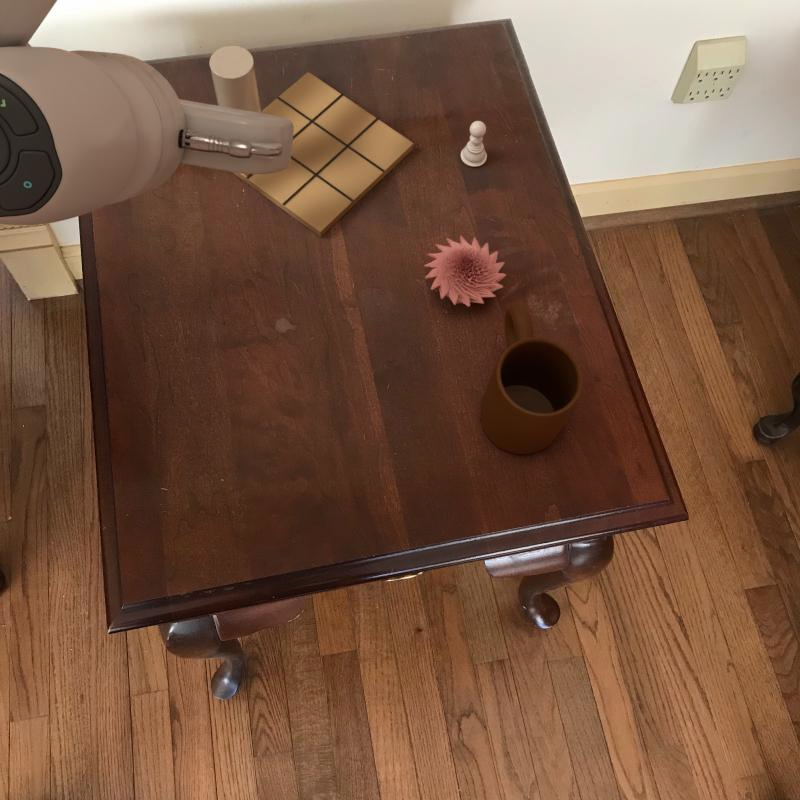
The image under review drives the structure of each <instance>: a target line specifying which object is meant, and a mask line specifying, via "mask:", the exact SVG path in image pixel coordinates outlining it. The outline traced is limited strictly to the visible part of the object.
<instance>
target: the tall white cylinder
mask: <svg viewBox="0 0 800 800" xmlns="http://www.w3.org/2000/svg"><path fill="white" fill-rule="evenodd" d="M208 62H209V69H210V74H211V79H212V83H213V88H214V92H215V97H216V98H215V99H216V102H217V106H222V107H228V108H234V109H240V110H246V111H251V112H257V113H261V111H262V108H261V102H260V94H259V88H258V80H257V74H256V68H255V60H254V57H253V55H252V54H251V52H250V51H249V50H248V49H246V48H244V47H243V46H240V45H239V46H238V45H225V46H222V47H219V48H217V49H216V50H215V51H214V52H213V53H212V54H211V56H210V58H209V61H208Z"/></svg>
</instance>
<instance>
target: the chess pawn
mask: <svg viewBox="0 0 800 800" xmlns="http://www.w3.org/2000/svg"><path fill="white" fill-rule="evenodd" d="M486 133H487V126H486V124H485V122H483V121H481V120H475V121H473V122H472V123H471V124H470V126H469V134H470V135H469V141H468V142H467V143H466V145H465V146H464V147H463V149H462V150H461V151H460V159H461V161H462V162H463V163H464V164H465V165H466V166H469V167H473V168H475V167H476V168H477V167H480V166H482V165H484V164H485V163H486V161H487V159H488V158H487V157H488V153H487V152H486V148H485V145H484V142H483V140H484V136H485V135H486Z"/></svg>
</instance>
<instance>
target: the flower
mask: <svg viewBox="0 0 800 800" xmlns="http://www.w3.org/2000/svg"><path fill="white" fill-rule="evenodd" d="M445 240H446V241H447V242H448V244H449V246H448V245H447V246H446V245H442V244H439V243H434V245H435V247H436V248H437V249H438V250H440V251H441V252H438V253H431V252H430V253H429V252H428V253H427V254H426V256H429V258H432V259H434V260H433V261H431V262H429V263H426V264H423V268H431V270H430V271H429V273H428V274H427V275H425V276H424V280H425V279H426V280H428V279H433V278H434V280H433V282H432V285H431V287H430V290H431V291H433V290H435V289H437V288H438V291H439V295H440V300H444V299H445V297H447V298H448V299H449V300H451V302H452V303H453V305H454V306H456V305H457V304H464V305H465V306H466V307H468V308H470V307H471V303H473V304H474V303H475V304H482V305H484V304H485V302H484V300H483V299H485V298H496V297H497V295H495V294H494V293H493V292H495V291H498V290H499V289H503V288H504V286H503V284H501V283H499V282H500V281H502V280H503V279H504V278H505V277H506V276H507V273H503V272H500V270H501V269H502V268H503V266H504V265H505V263H506V262H505V261H500V262H497V259H498V254H499V251H498V250H496V251H494V252H492V253H490V248H489V242H485V243H484V245H483V246H482V247H481V246H480V244H479V242H478V240H477V238H476V237H473V238H472V242H471V244H470V243H469V242H468V241H467V240H466V239H465V238H464V237H463V236H462V235H459V242H456V241H454V240H452V239H451V238H449V237H446V238H445Z"/></svg>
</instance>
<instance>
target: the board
mask: <svg viewBox="0 0 800 800" xmlns="http://www.w3.org/2000/svg"><path fill="white" fill-rule="evenodd" d="M261 113H263V114H269V115H274V116H280V117H283V118H286V119H289V120H290V121H292V123H293V126H294V133H293V146H292V153H291V160H290V164H289V167H288V168H287V169H286V170H283V171H279V172H275V173H269V174H244V173H234V172H231V173H232V174H233V175H234V176H236V177H238V178H239V179H241V180H242V181H243V182H244V183H246V184H247V185H249V186H250V187H251V188H253V189H254V190H255V191H257V192H258V193H259V194H261V195H262V196H264V197H265V198H266V199H268V200H269V201H270V202H272V203H273V204H274V205H276V206H277V207H278V208H280V210H283V211H284V213H285V212H286V213H287V215H289V216H291V217H292V218H293V219H295V220H296V221H298V222H299V223H300V224H302V225H303V226H304V227H306V228H307V229H308V230H310V231H311V232H312V233H314V234H315V235H317V236H318V237H319V238H322V237H323V236H324V235H325V234H326V233H328V232H329V230H331V228H333V227H334V226H335V225H336V224H337V223H338V222H339V221H340V220H341V219H342V218H343V217H344V216H345V215H346V214H347V213H348V212H349V211H350V210H352V208H353V207H355V206H356V205H357V204H358V203H359V202H360V201H361V200H362V199H363V198H364V197H366V195H367V194H368V193H369V192H371V190H372V189H373V188H374V187H376V186H377V185H378V183H380V182H381V181H382V180H383V179H384V178H385V177H386V176H387V175H388V174H389V173H390V172H391V171H392V170H393V169H394V168H396V167H397V166H398V165H399V164H400V163H401V162H402V161H403V160H404V159H405V158H406V157H407V156H408V155H409V154H410V153H411V152H413V150H414V142H413V141H411V140H409V139H408V138H407V137H405V136H404V135H402V134H401V133H400V132H398V131H396V130H395V129H394V128H393V127H391V126H389V125H387V124H386V123H385V122H383V121H381V120H380V119H379V118H378V117H376V116H374V115H373V114H371V113H370V112H368V111H367V110H365V109H364V108H362V107H361V106H360V105H358V104H356V103H355V102H353V101H352V100H351V99H349V98H348V97H346V96H345V95H344V94H343V93H340V92H339V91H337V90H336V89H335V88H333V87H332V86H330V85H329V84H327V83H326V82H324V81H323V80H321V79H320V78H318V77H317V76H315V75H314V74H312V73H311V72H309V71H307V72H306V73H305V74H304V75H302V77H300V78H299V79H298V80H297V81H295V82H294V83H293V84H292V85H290V86H289V87H288V88H287V89H286V90H285V91H284V92H282V93H281V94H280V95H279V96H277V97H276V98H275V99H274V100H273V101H272V102H271V103H269V104H268V105H267V106H266V107H264V108H263V109H261Z"/></svg>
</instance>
